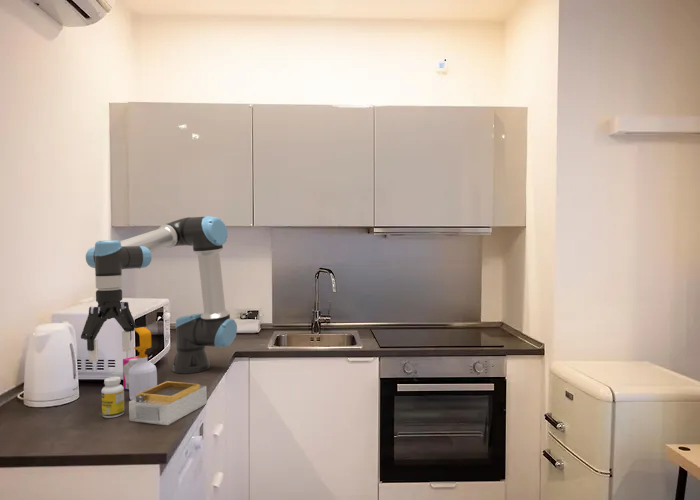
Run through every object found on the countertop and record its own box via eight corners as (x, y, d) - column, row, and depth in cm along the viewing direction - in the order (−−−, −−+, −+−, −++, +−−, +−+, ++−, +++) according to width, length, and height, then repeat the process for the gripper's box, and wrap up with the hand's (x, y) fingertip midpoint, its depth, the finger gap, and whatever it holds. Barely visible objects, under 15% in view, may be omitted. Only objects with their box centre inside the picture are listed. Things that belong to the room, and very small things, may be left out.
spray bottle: (149, 391, 182) (146, 324, 181) (162, 396, 176) (160, 327, 175) (124, 398, 175) (122, 328, 174) (137, 403, 169) (135, 331, 168)
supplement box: (146, 387, 187) (145, 357, 187) (132, 391, 182) (131, 360, 182) (136, 385, 190) (135, 355, 190) (122, 389, 185) (121, 359, 185)
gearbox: (172, 400, 172) (171, 378, 171) (206, 403, 167) (206, 381, 167) (128, 421, 152) (127, 397, 152) (166, 425, 148) (165, 400, 148)
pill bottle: (99, 415, 158) (97, 379, 158) (120, 409, 163) (119, 374, 163) (106, 420, 154) (105, 383, 153) (127, 414, 158) (126, 378, 158)
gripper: (128, 285, 170) (130, 347, 171) (66, 293, 147) (68, 364, 147) (146, 285, 168) (148, 348, 168) (85, 293, 144) (87, 366, 145)
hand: (110, 356), depth 158 cm, fingers open, 13 cm apart
